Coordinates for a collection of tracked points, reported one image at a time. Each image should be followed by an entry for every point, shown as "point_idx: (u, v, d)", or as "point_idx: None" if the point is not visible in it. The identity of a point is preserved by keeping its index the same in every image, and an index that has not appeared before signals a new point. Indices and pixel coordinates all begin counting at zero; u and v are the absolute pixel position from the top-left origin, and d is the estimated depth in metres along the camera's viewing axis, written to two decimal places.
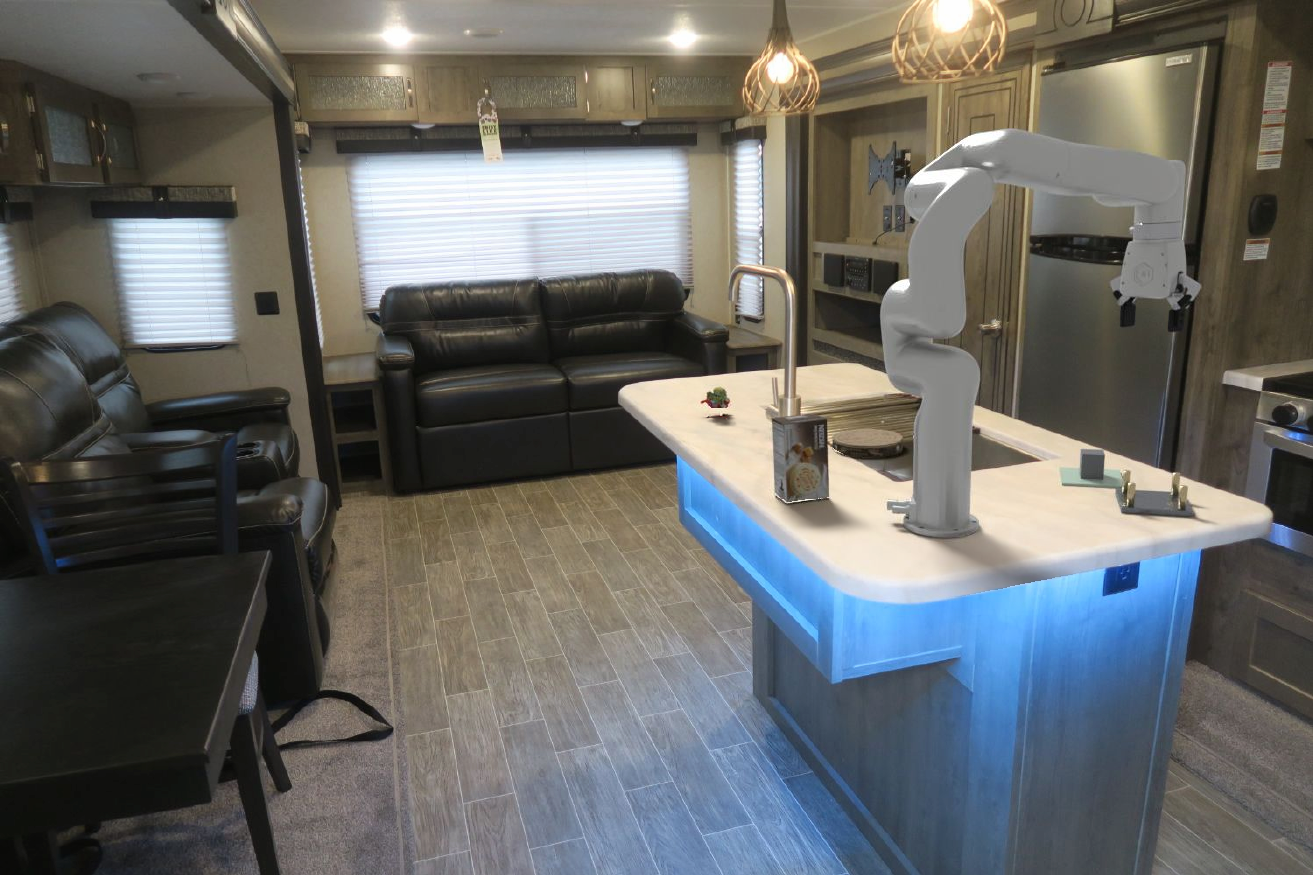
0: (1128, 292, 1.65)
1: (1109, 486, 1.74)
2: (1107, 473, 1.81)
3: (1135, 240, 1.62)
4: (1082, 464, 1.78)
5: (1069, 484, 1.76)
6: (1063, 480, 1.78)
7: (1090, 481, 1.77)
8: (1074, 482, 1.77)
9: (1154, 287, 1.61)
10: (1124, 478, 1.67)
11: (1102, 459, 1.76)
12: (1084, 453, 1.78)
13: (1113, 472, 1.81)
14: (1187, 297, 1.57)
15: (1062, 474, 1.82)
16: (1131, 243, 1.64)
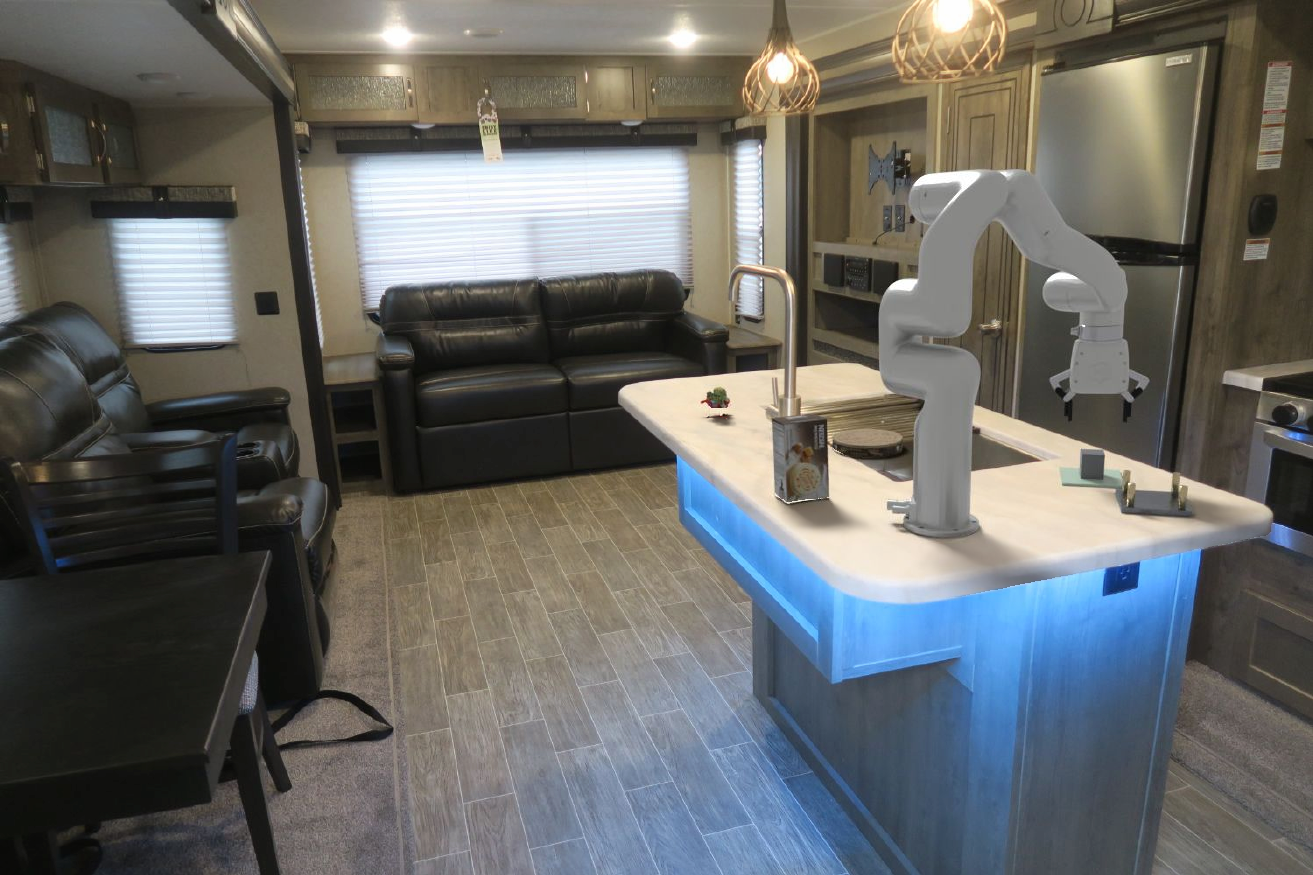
0: (1083, 389, 1.74)
1: (1109, 486, 1.74)
2: (1107, 473, 1.81)
3: (1092, 342, 1.71)
4: (1082, 464, 1.78)
5: (1070, 484, 1.76)
6: (1063, 480, 1.78)
7: (1090, 481, 1.77)
8: (1075, 482, 1.77)
9: (1113, 383, 1.72)
10: (1124, 478, 1.67)
11: (1102, 459, 1.76)
12: (1084, 453, 1.78)
13: (1113, 471, 1.81)
14: (1141, 390, 1.72)
15: (1062, 474, 1.82)
16: (1083, 344, 1.72)
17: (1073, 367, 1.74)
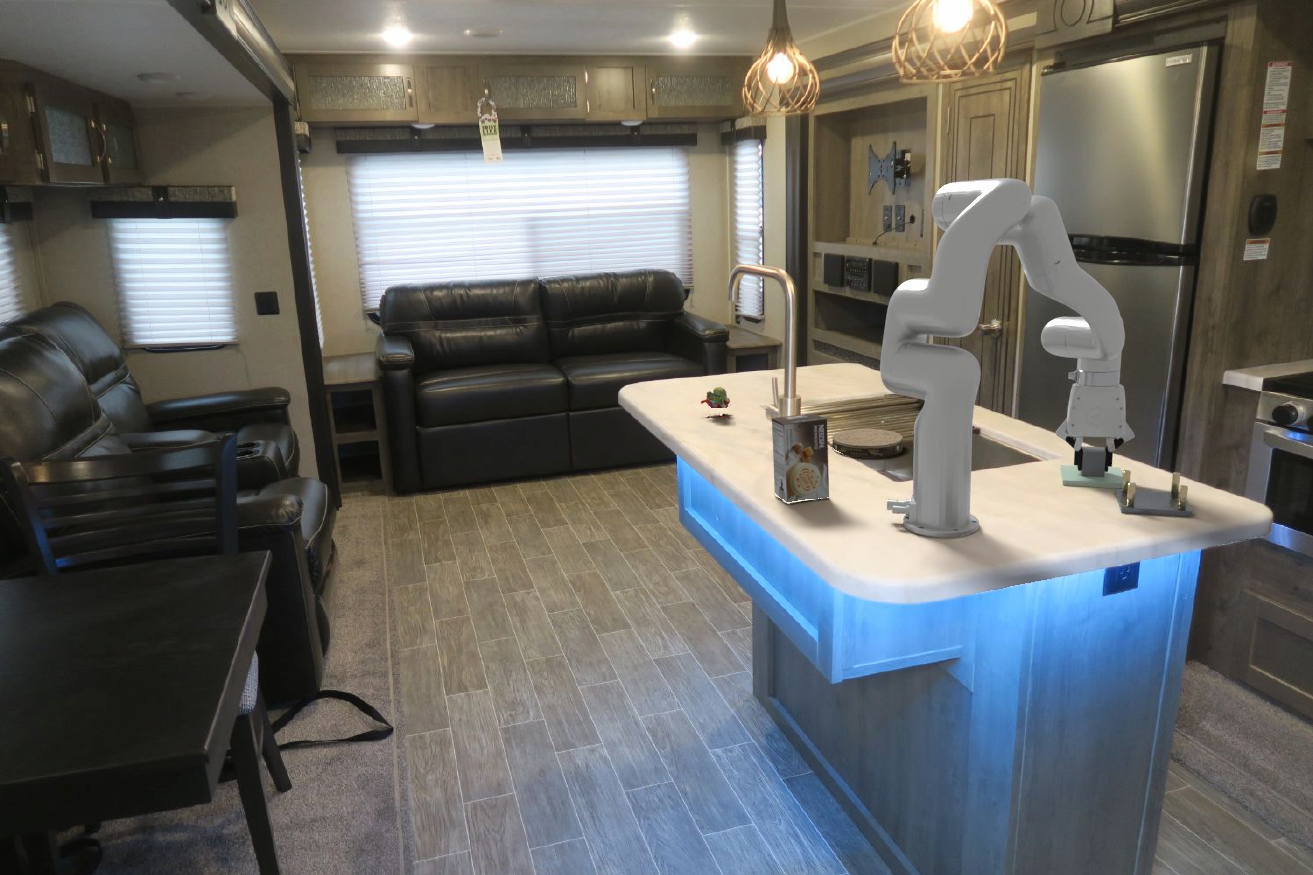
0: (1079, 433, 1.76)
1: (1110, 483, 1.74)
2: (1108, 471, 1.81)
3: (1089, 387, 1.73)
4: (1083, 461, 1.78)
5: (1070, 481, 1.76)
6: (1064, 477, 1.78)
7: (1090, 478, 1.77)
8: (1075, 479, 1.76)
9: (1109, 428, 1.74)
10: (1124, 478, 1.67)
11: (1103, 457, 1.76)
12: (1085, 450, 1.78)
13: (1114, 469, 1.81)
14: (1122, 441, 1.75)
15: (1063, 472, 1.82)
16: (1080, 389, 1.74)
17: (1070, 411, 1.76)
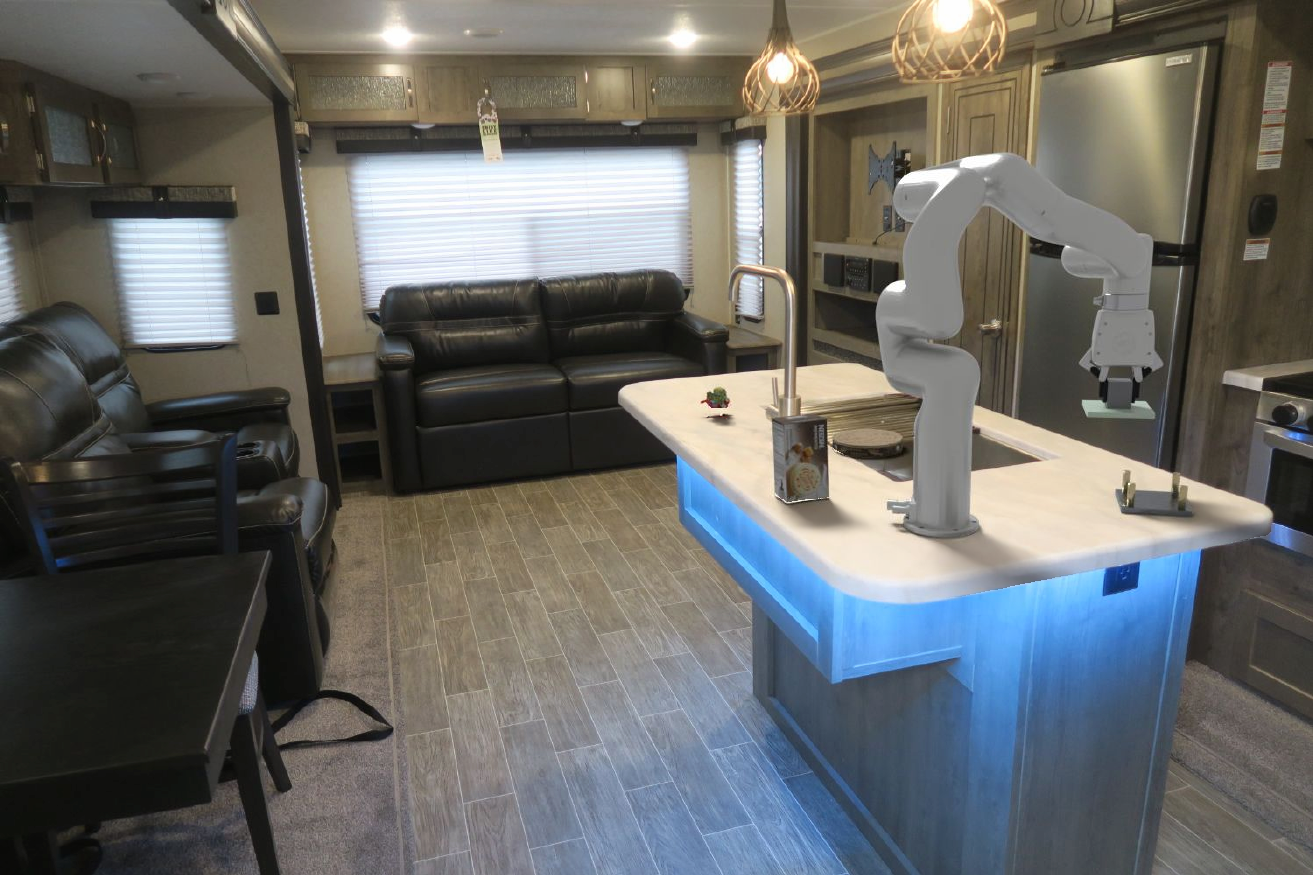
0: (1106, 362, 1.66)
1: (1138, 414, 1.64)
2: (1134, 404, 1.71)
3: (1117, 311, 1.63)
4: (1108, 393, 1.68)
5: (1096, 413, 1.66)
6: (1088, 410, 1.68)
7: (1117, 410, 1.67)
8: (1101, 411, 1.66)
9: (1137, 355, 1.64)
10: (1124, 478, 1.67)
11: (1130, 387, 1.66)
12: (1110, 381, 1.68)
13: (1139, 402, 1.72)
14: (1150, 370, 1.65)
15: (1086, 405, 1.72)
16: (1107, 314, 1.64)
17: (1096, 338, 1.66)
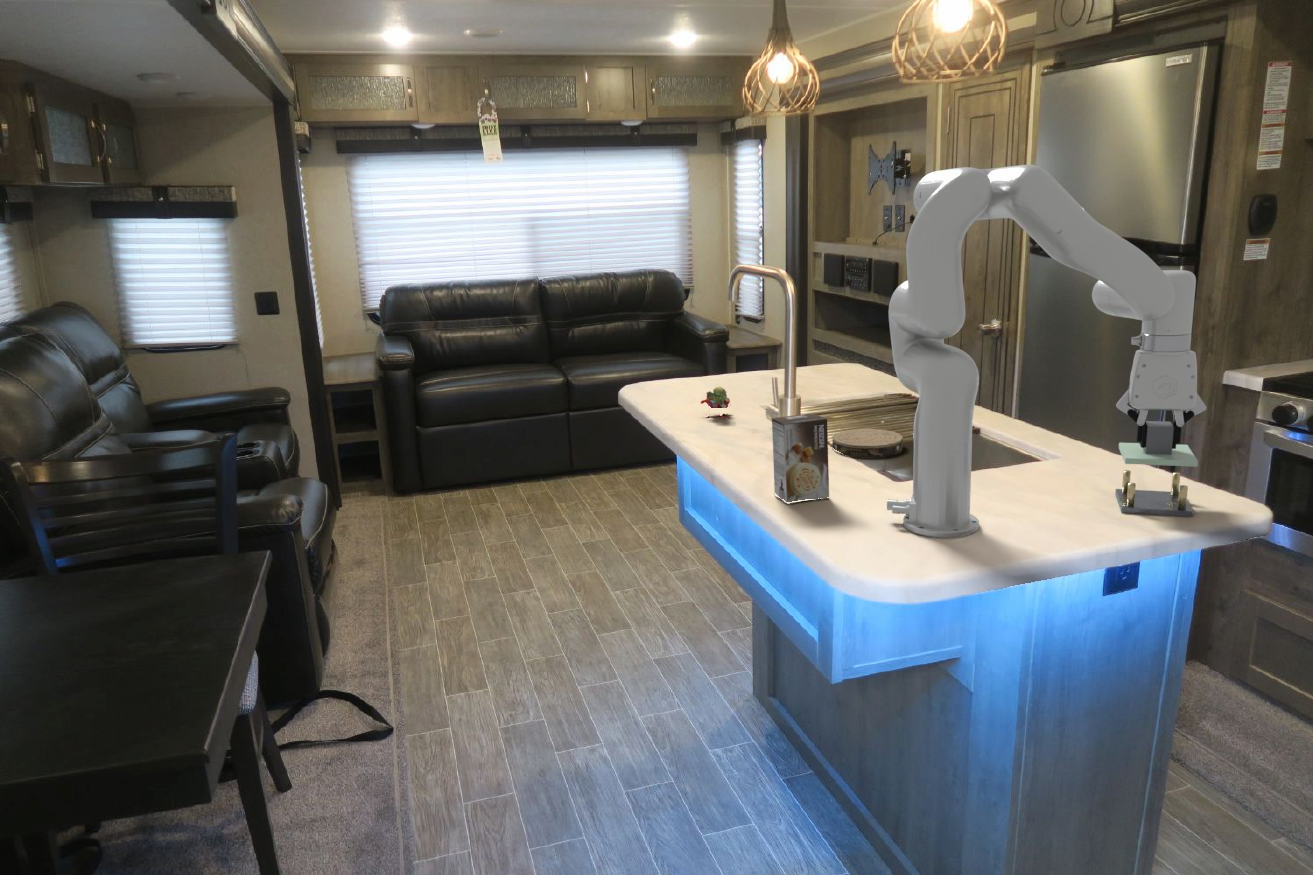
0: (1144, 405, 1.57)
1: (1179, 461, 1.55)
2: None
3: (1157, 352, 1.54)
4: (1147, 437, 1.59)
5: (1134, 459, 1.57)
6: (1126, 455, 1.59)
7: (1156, 456, 1.58)
8: (1140, 457, 1.57)
9: (1178, 399, 1.55)
10: (1124, 478, 1.67)
11: (1171, 432, 1.57)
12: (1150, 425, 1.59)
13: (1180, 447, 1.62)
14: (1192, 414, 1.56)
15: (1124, 449, 1.63)
16: (1146, 355, 1.55)
17: (1134, 380, 1.57)
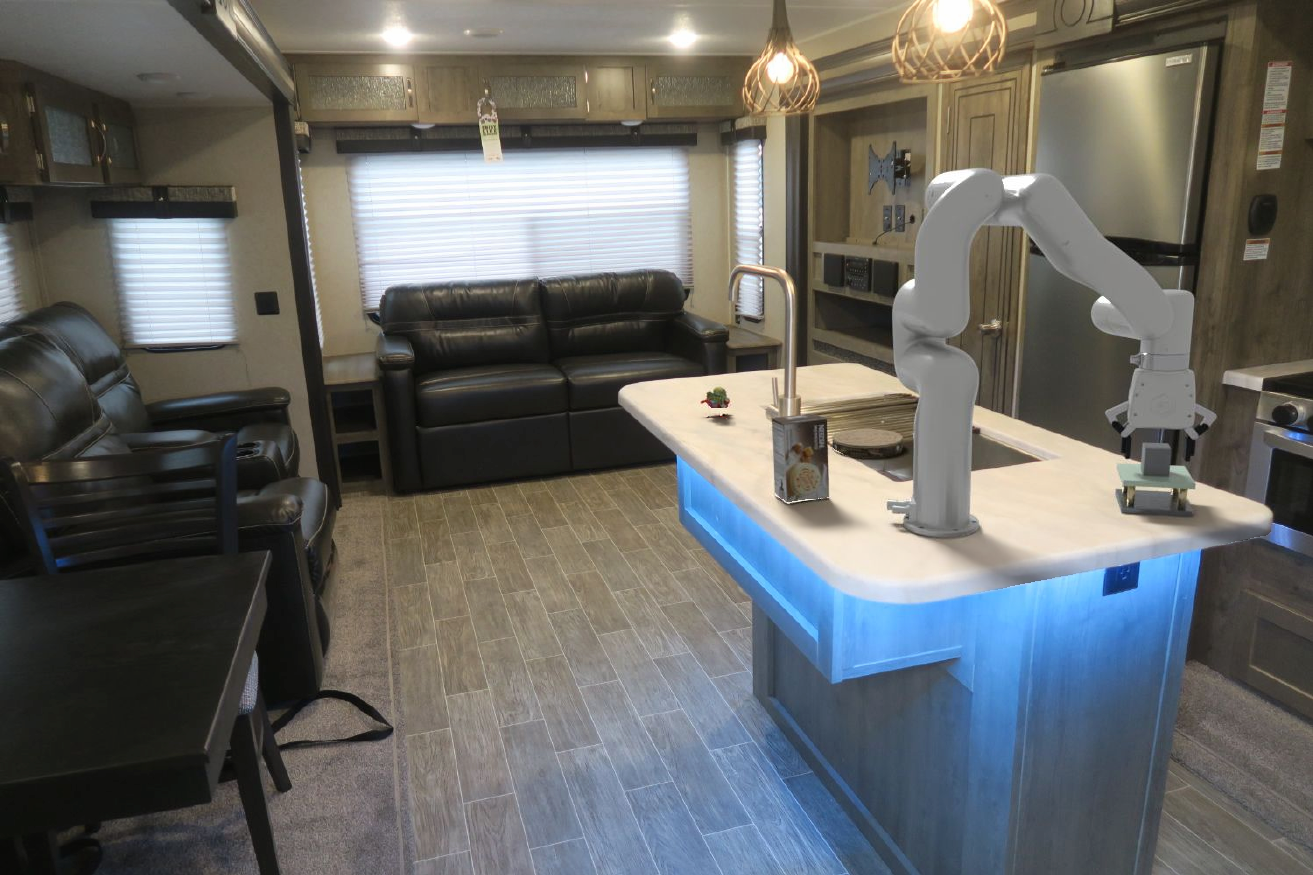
0: (1143, 424, 1.58)
1: (1177, 484, 1.56)
2: (1172, 470, 1.63)
3: (1155, 371, 1.55)
4: (1145, 459, 1.60)
5: (1132, 481, 1.58)
6: (1124, 477, 1.60)
7: (1154, 478, 1.59)
8: (1137, 479, 1.58)
9: (1177, 418, 1.56)
10: None
11: (1168, 454, 1.58)
12: (1148, 447, 1.60)
13: (1178, 468, 1.63)
14: (1206, 427, 1.56)
15: (1121, 471, 1.64)
16: (1144, 374, 1.56)
17: (1133, 399, 1.58)
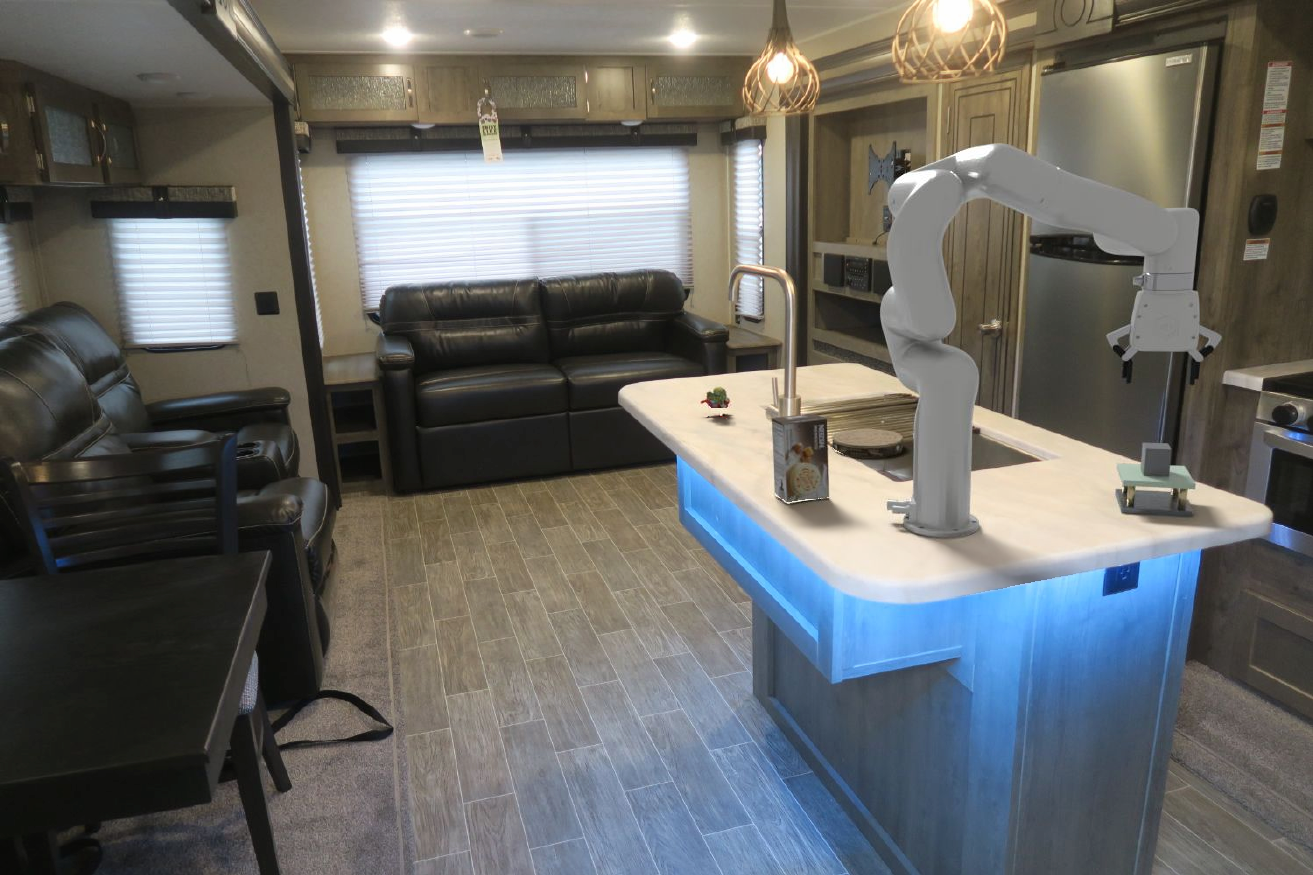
0: (1145, 346, 1.54)
1: (1177, 484, 1.56)
2: (1172, 470, 1.63)
3: (1159, 291, 1.51)
4: (1145, 459, 1.60)
5: (1132, 481, 1.58)
6: (1124, 477, 1.60)
7: (1154, 478, 1.59)
8: (1137, 479, 1.58)
9: (1180, 340, 1.52)
10: None
11: (1168, 454, 1.58)
12: (1148, 447, 1.60)
13: (1178, 468, 1.63)
14: (1211, 348, 1.52)
15: (1121, 471, 1.64)
16: (1147, 294, 1.53)
17: (1135, 321, 1.54)
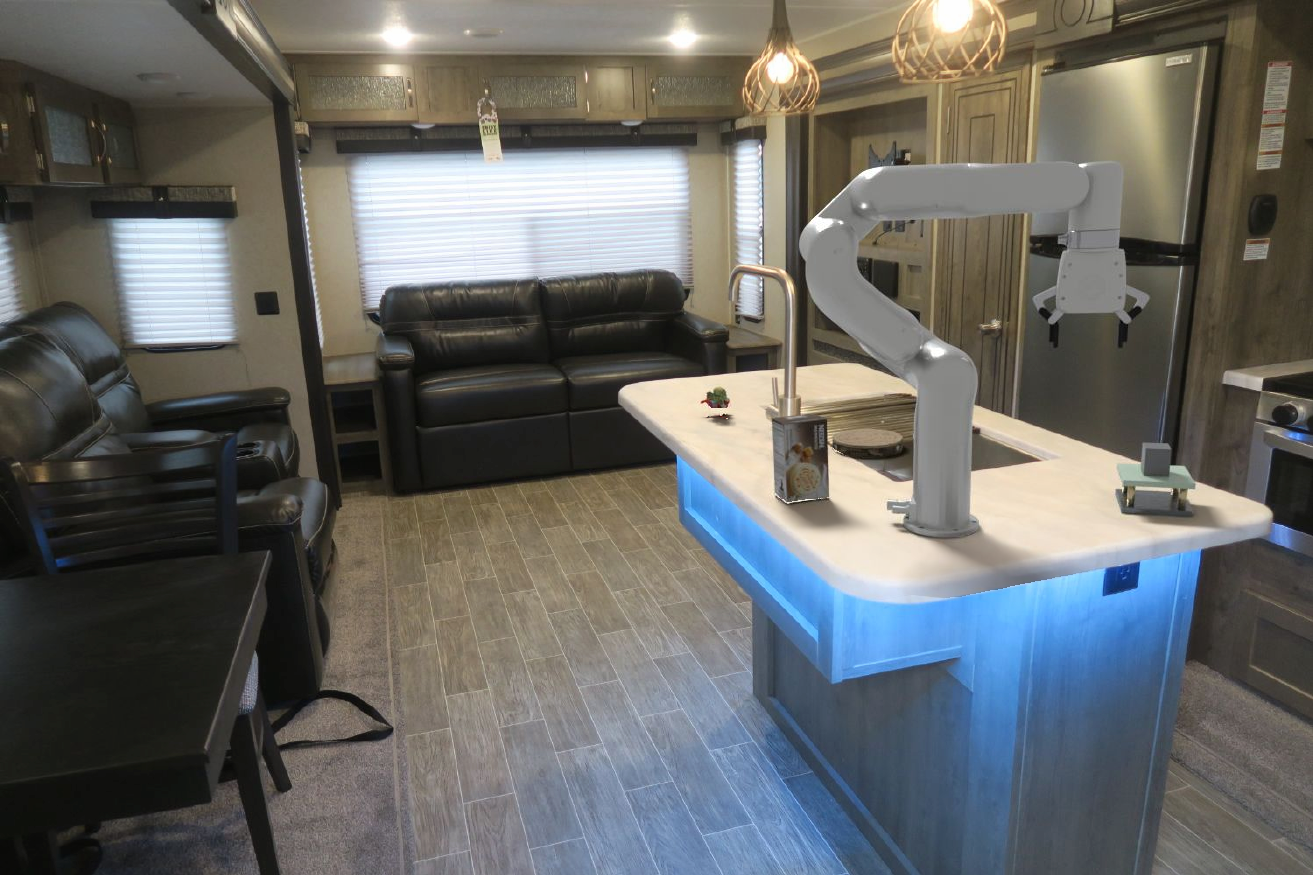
0: (1071, 308, 1.47)
1: (1177, 484, 1.56)
2: (1172, 470, 1.63)
3: (1083, 250, 1.44)
4: (1145, 459, 1.60)
5: (1132, 481, 1.58)
6: (1124, 477, 1.60)
7: (1154, 478, 1.59)
8: (1137, 479, 1.58)
9: (1106, 300, 1.45)
10: None
11: (1168, 454, 1.58)
12: (1148, 447, 1.60)
13: (1178, 468, 1.63)
14: (1139, 309, 1.45)
15: (1121, 471, 1.64)
16: (1072, 253, 1.46)
17: (1060, 281, 1.47)
